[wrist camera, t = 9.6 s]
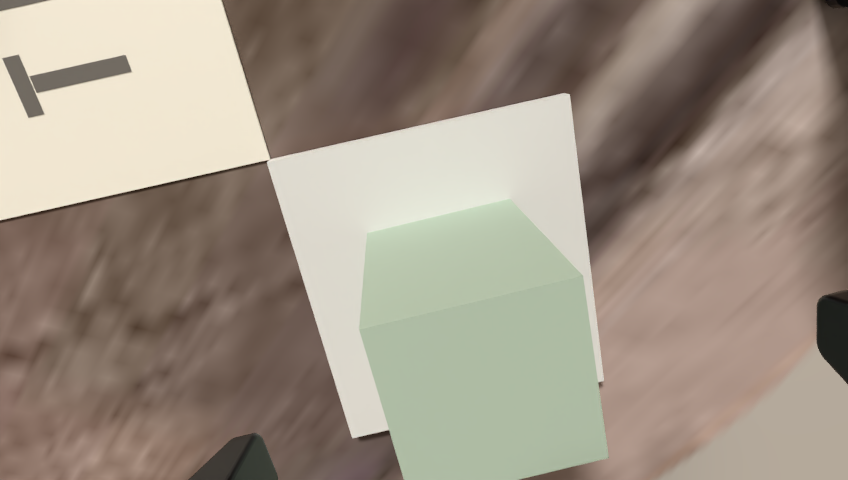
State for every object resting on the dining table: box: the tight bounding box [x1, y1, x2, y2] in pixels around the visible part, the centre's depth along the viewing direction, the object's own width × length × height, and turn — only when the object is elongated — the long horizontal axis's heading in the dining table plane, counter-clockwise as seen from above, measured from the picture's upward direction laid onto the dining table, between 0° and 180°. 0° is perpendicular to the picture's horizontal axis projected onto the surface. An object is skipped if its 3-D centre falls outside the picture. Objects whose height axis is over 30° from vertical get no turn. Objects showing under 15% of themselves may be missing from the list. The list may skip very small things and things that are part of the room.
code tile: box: [0, 0, 271, 220], centre depth 16 cm, size 10×10×1 cm
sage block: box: [359, 199, 609, 480], centre depth 16 cm, size 5×5×7 cm
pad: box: [267, 93, 604, 438], centre depth 19 cm, size 10×11×1 cm
